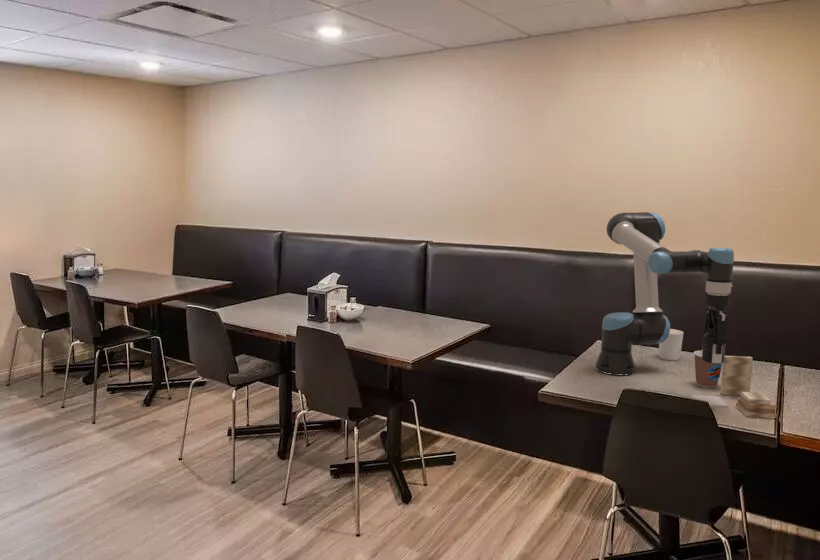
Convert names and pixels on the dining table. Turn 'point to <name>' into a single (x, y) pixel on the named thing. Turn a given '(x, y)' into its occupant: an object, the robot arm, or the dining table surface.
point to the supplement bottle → (710, 346)
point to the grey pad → (712, 400)
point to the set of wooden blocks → (744, 388)
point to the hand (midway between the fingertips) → (712, 359)
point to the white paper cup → (671, 346)
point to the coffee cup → (706, 371)
